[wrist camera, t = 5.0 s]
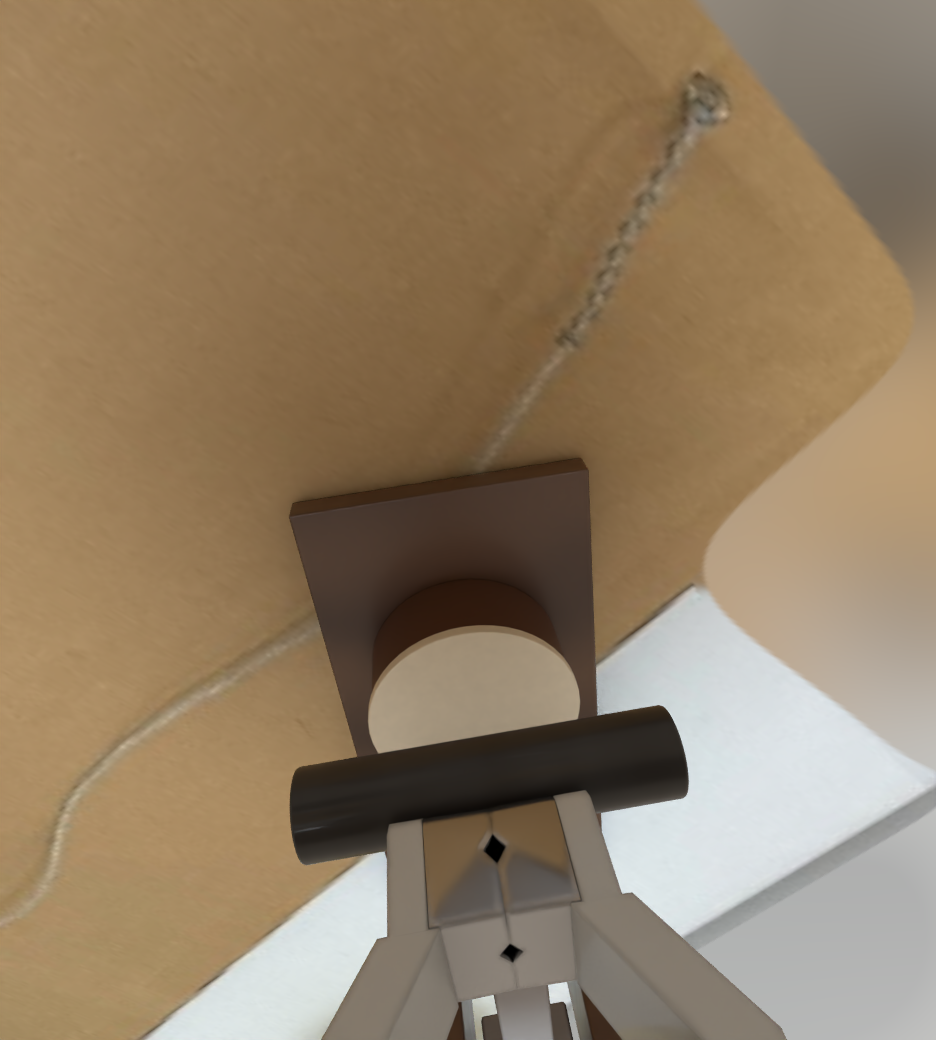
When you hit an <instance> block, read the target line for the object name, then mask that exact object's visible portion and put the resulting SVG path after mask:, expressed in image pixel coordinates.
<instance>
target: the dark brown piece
mask: <svg viewBox="0 0 936 1040" xmlns="http://www.w3.org/2000/svg"><path fill="white" fill-rule="evenodd" d="M289 519H290V523H291V526H292V529H293V533H294V536H295V540H296V543H297V547H298V550H299V554H300V557H301V561H302V564H303V568H304V571H305V575H306V578H307V582H308V585H309V589H310V592H311V596H312V599H313V603H314V606H315V610H316V613H317V617H318V620H319V624H320V627H321V631H322V634H323V638H324V641H325V645H326V648H327V652H328V655H329V659H330V662H331V666H332V669H333V673H334V676H335V680H336V683H337V687H338V690H339V694H340V697H341V701H342V704H343V708H344V711H345V715H346V718H347V722H348V725H349V729H350V732H351V736H352V739H353V743H354V746H355V750H356V753H357V757H361V756H367V755H372V754H378V752H377V750H376V748H375V746H374V744H373V742H372V739H371V736H370V733H369V726H368V710H369V702H370V697H371V694H372V659H373V649H374V644H375V640H376V638H377V635H378V633H379V631H380V629H381V627H382V626H383V624H384V622H385V621H386V620H387V618H388V617H389V616H390V615H391V613H392V612H393V611H394V610H396V609H397V608H398V607H399V606H400V605H401V604H402V603H404V602H405V601H406V600H407V599H409V598H410V597H412V596H414V595H416V594H417V593H419V592H421V591H423V590H425V589H428V588H430V587H433V586H436V585H439V584H442V583H446V582H451V581H457V580H468V579H472V580H487V581H494V582H498V583H502V584H506V585H508V586H511V587H513V588H516V589H518V590H520V591H521V592H523V593H525V594H527V595H528V596H529V597H531V598H532V599H533V600H535V601H536V602H537V603H538V604H539V605H540V606H541V607H542V608H543V609H544V611H545V612H546V614H547V615H548V616H549V618H550V620H551V622H552V624H553V627H554V630H555V632H556V635H557V638H558V641H559V644H560V646H561V649H562V652H563V655H564V657H565V660H566V662H567V663H568V664H569V666H570V668H571V670H572V672H573V674H574V677H575V679H576V682H577V686H578V689H579V696H580V709H579V715H578V719H581V718H587V717H593V716H597V690H596V663H595V635H594V608H593V580H592V552H591V525H590V497H589V470H588V468H587V467H586V465H585V464H584V462H583V460H582V459H581V458H578V459H571V460H565V461H559V462H552V463H546V464H540V465H533V466H527V467H520V468H514V469H508V470H501V471H495V472H489V473H482V474H476V475H469V476H463V477H457V478H450V479H444V480H438V481H431V482H425V483H419V484H412V485H406V486H399V487H393V488H387V489H380V490H374V491H368V492H361V493H355V494H349V495H342V496H336V497H329V498H323V499H317V500H310V501H304V502H298V503H293V504H292V507H291V511H290V515H289ZM596 816H597V819H598V822H599V825H600V828H601V813H597V814H596ZM601 831H602V829H601ZM385 854H386V858H387V851H385ZM567 984H568V988H569V993H570V997H571V1002H572V1006H573V1011H574V1016H575V1020H576V1024H577V1029H578V1033H579V1038H580V1040H622V1039H621V1037H620V1036H619V1035H618V1034H617V1032H616V1031H615V1030H614V1029H613V1027H612V1026H611V1025H610V1024H609V1022H608V1021H607V1020H606V1019H605V1018H604V1016H603V1015H602V1014H601V1013H600V1011H599V1010H598V1009H597V1008H596V1006H595V1005H594V1004H593V1003H592V1001H591V1000H590V999H589V998H588V996H587V995H586V994H585V993H584V991H583V990H582V989H581V988H580V986H579V985H578V984H577V980H574V981H568V982H567ZM458 1006H459V1007H458V1010H457V1013H456V1016H455V1018H454V1021H453V1024H452V1027H451V1029H450V1032H449V1035H448V1037H447V1040H476V1035H475V1025H474V1015H473V1006H472V999H471V1000H467V1001H462V1002H458Z"/></svg>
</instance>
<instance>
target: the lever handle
mask: <svg viewBox="0 0 936 1040" xmlns="http://www.w3.org/2000/svg"><path fill="white" fill-rule="evenodd" d="M688 785H689V779H688V768H687V762H686V757H685V752H684V748H683V745H682V741H681V738H680V735H679V733H678V730H677V727H676V725H675V723H674V721H673V719H672V717H671V715H670V714H669V712H668V711H667V710H666V709H665V708H664V707H663V706H660V705H657V706H651V707H645V708H640V709H634V710H628V711H622V712H616V713H611V714H605V715H599V716H593V717H587V718H581V719H576V720H570V721H564V722H558V723H552V724H547V725H541V726H535V727H529V728H523V729H518V730H512V731H506V732H500V733H494V734H489V735H483V736H477V737H471V738H465V739H459V740H454V741H448V742H442V743H436V744H430V745H425V746H419V747H413V748H407V749H401V750H396V751H390V752H384V753H378V754H372V755H367V756H361V757H355V758H349V759H343V760H337V761H332V762H326V763H320V764H314V765H308V766H303V767H299V768H298V769H296V771H295V773H294V775H293V779H292V783H291V791H290V823H291V831H292V838H293V843H294V847H295V850H296V853H297V856H298V858H299V860H300V862H301V863H302V864H304V865H311V864H316V863H322V862H327V861H333V860H339V859H344V858H350V857H356V856H361V855H367V854H372V853H378V852H384V851H387V833H388V827H389V824H394V823H400V822H405V821H411V820H417V819H424V818H430V817H437V816H444V815H450V814H457V813H464V812H470V811H477V810H484V809H488V807H493V806H498V805H503V804H508V803H513V802H518V801H524V800H529V799H534V798H539V797H544V796H550V795H552V797H553V796H555V795H561V794H566V793H571V792H576V791H582V790H586V792H587V793H588V794H589V795H590V798H591V801H592V804H593V807H594V810H595V813H596V814H597V813H603V812H609V811H614V810H620V809H626V808H631V807H637V806H642V805H648V804H654V803H659V802H665V801H671V800H676V799H682V798H684V797H685V796H686V795H687V792H688ZM515 979H516V978H515ZM516 986H517V984H516ZM494 999H495V1004H496V1009H497V1014H495V1015H490V1016H484V1017H483V1018H482V1021H481V1022H482V1031H483V1039H484V1040H573V1037H572V1032H571V1027H570V1023H569V1018H568V1013H567V1009H566V1005H565V1003H564V1002H559V1003H553V1004H550V1000H549V991H548V985H543V986H536V987H530V988H524V989H517V990H512V991H508V992H503V993H499V994H494Z"/></svg>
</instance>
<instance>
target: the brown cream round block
mask: <svg viewBox="0 0 936 1040" xmlns="http://www.w3.org/2000/svg"><path fill="white" fill-rule="evenodd" d="M579 709H580V696H579V689H578V686H577V682H576V679H575V677H574V674H573V672H572V670H571V668H570V666H569V664H568V663H567V662H566V660H565V657H564V655H563V652H562V649H561V646H560V644H559V641H558V638H557V635H556V632H555V630H554V627H553V624H552V622H551V620H550V618H549V616H548V615H547V614H546V612H545V611H544V609H543V608H542V607H541V606H540V605H539V604H538V603H537V602H536V601H535V600H533V599H532V598H531V597H529V596H528V595H527V594H525V593H523V592H521V591H520V590H518V589H516V588H513V587H511V586H508V585H506V584H502V583H498V582H494V581H487V580H472V579H468V580H457V581H451V582H446V583H442V584H439V585H436V586H433V587H430V588H428V589H425V590H423V591H421V592H419V593H417V594H416V595H414V596H412V597H410V598H409V599H407V600H406V601H405V602H404V603H402V604H401V605H400V606H399V607H398V608H397V609H396V610H394V611H393V612H392V613H391V615H390V616H389V617H388V618H387V620H386V621H385V622H384V624H383V626H382V627H381V629H380V631H379V633H378V635H377V638H376V640H375V644H374V649H373V659H372V694H371V697H370V702H369V710H368V726H369V733H370V736H371V739H372V742H373V744H374V746H375V748H376V750H377V752H378V753H384V752H390V751H396V750H401V749H407V748H413V747H419V746H425V745H430V744H436V743H442V742H448V741H454V740H459V739H465V738H471V737H477V736H483V735H489V734H494V733H500V732H506V731H512V730H518V729H523V728H529V727H535V726H541V725H547V724H552V723H558V722H564V721H570V720H576V719H578V715H579Z"/></svg>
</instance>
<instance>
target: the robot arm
mask: <svg viewBox="0 0 936 1040" xmlns="http://www.w3.org/2000/svg"><path fill="white" fill-rule="evenodd" d="M515 978H516V979H515ZM574 980H577V984H578V985H579V986H580V988H581V989H582V990H583V991H584V993H585V994H586V995H587V996H588V998H589V999H590V1000H591V1001H592V1003H593V1004H594V1005H595V1006H596V1008H597V1009H598V1010H599V1011H600V1013H601V1014H602V1015H603V1016H604V1018H605V1019H606V1020H607V1021H608V1022H609V1024H610V1025H611V1026H612V1027H613V1029H614V1030H615V1031H616V1032H617V1034H618V1035H619V1036H620V1037H621V1039H622V1040H787V1039H786V1037H785V1035H784V1033H783V1031H782V1028H781V1027H780V1026H779V1025H778V1024H776V1023H775V1022H774V1021H773V1020H772V1019H771V1018H770V1017H769V1016H768V1015H767V1014H765V1013H764V1012H763V1011H762V1010H761V1009H760V1008H759V1007H758V1006H757V1005H756V1004H755V1003H753V1002H752V1001H751V1000H750V999H749V998H748V997H747V996H746V995H745V994H743V993H742V992H741V991H740V990H739V989H738V988H737V987H736V986H735V985H734V984H732V983H731V982H730V981H729V980H728V979H727V978H726V977H725V976H724V975H723V974H721V973H720V972H719V971H718V970H717V969H716V968H715V967H714V966H712V964H710V963H709V962H708V961H707V960H706V959H705V958H704V957H703V956H702V955H700V954H699V953H698V952H697V951H696V950H695V949H694V948H693V947H692V946H691V945H690V944H688V943H687V942H686V941H685V940H684V939H683V938H682V937H681V936H680V935H679V934H677V933H676V932H675V931H674V930H673V929H672V928H671V927H670V926H669V925H667V924H666V923H665V922H664V921H663V920H662V919H661V918H660V917H659V916H658V915H656V914H655V913H654V912H653V911H652V910H651V909H650V908H649V907H648V906H647V905H645V904H644V903H643V902H642V901H641V900H640V899H639V898H638V897H637V896H636V895H634V894H633V893H625V894H622V893H621V889H620V886H619V883H618V880H617V877H616V874H615V871H614V868H613V865H612V862H611V859H610V856H609V853H608V850H607V847H606V843H605V840H604V837H603V834H602V831H601V828H600V825H599V822H598V819H597V816H596V813H595V810H594V807H593V804H592V801H591V798H590V795H589V794H588V793H587V792H586V790H582V791H576V792H571V793H566V794H561V795H555V796H553V797H552V795H550V796H544V797H539V798H534V799H529V800H524V801H518V802H513V803H508V804H503V805H498V806H493V807H488V809H484V810H477V811H470V812H464V813H457V814H450V815H444V816H437V817H430V818H424V819H417V820H411V821H405V822H400V823H394V824H389V827H388V833H387V937H384V938H380V939H377V940H376V942H375V944H374V946H373V947H372V949H371V951H370V953H369V955H368V956H367V958H366V960H365V962H364V964H363V965H362V967H361V969H360V971H359V973H358V974H357V976H356V978H355V980H354V982H353V983H352V985H351V987H350V989H349V991H348V992H347V994H346V996H345V998H344V1000H343V1001H342V1003H341V1005H340V1007H339V1009H338V1010H337V1012H336V1014H335V1016H334V1018H333V1020H332V1021H331V1023H330V1025H329V1027H328V1029H327V1030H326V1032H325V1034H324V1036H323V1038H322V1039H321V1040H447V1037H448V1035H449V1032H450V1029H451V1027H452V1024H453V1021H454V1018H455V1016H456V1013H457V1010H458V1007H459V1006H458V1002H462V1001H467V1000H471V999H476V998H481V997H485V996H490V995H494V994H499V993H503V992H508V991H512V990H517V989H524V988H530V987H536V986H543V985H549V984H555V983H562V982H568V981H574ZM516 984H517V986H516Z"/></svg>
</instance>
